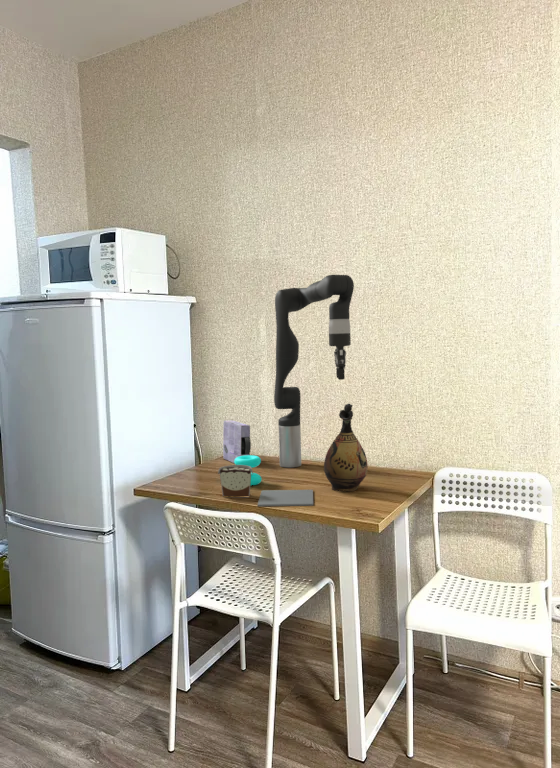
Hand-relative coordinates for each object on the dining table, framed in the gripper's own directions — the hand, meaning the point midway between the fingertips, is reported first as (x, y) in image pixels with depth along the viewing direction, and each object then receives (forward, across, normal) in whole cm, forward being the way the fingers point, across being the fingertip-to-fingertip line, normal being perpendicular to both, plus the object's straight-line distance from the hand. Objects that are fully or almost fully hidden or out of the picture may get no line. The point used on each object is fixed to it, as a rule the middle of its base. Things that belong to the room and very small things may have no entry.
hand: (340, 378), depth 214 cm
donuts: (+40, +9, +34) cm, 53 cm away
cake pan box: (+40, +48, +43) cm, 76 cm away
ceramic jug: (+39, 0, -1) cm, 39 cm away
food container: (+39, -7, +37) cm, 54 cm away
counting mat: (+39, -13, +20) cm, 46 cm away
